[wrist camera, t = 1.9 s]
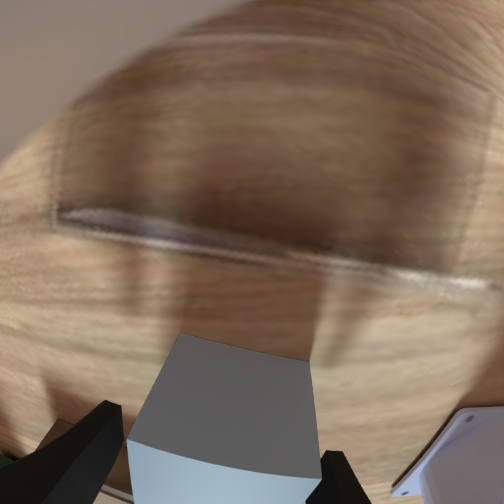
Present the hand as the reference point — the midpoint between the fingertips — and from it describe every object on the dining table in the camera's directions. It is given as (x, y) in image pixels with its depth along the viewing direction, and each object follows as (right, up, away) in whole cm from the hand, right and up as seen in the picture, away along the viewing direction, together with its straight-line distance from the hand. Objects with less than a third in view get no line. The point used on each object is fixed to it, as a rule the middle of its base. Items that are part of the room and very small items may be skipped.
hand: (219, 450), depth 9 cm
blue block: (0, +1, +3) cm, 3 cm away
